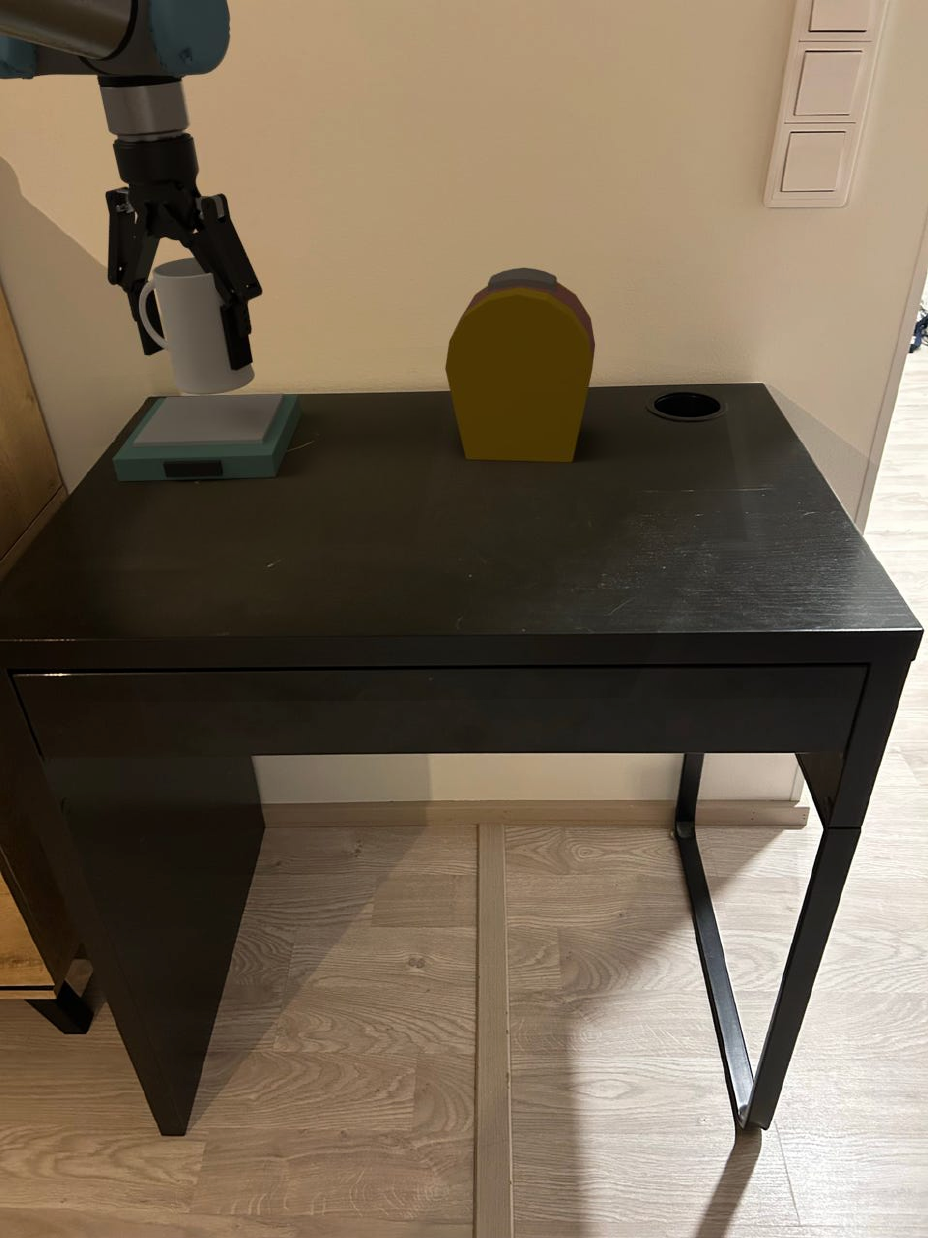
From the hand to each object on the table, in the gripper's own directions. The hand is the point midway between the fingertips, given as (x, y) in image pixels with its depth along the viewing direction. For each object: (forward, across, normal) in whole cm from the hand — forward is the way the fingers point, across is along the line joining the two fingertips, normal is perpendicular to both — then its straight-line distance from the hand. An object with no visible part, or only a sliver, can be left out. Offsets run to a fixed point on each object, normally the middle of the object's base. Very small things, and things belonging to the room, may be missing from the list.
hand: (198, 358), depth 103 cm
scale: (+10, 0, 0) cm, 10 cm away
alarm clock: (+10, -32, -14) cm, 36 cm away
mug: (+2, 0, 0) cm, 2 cm away
